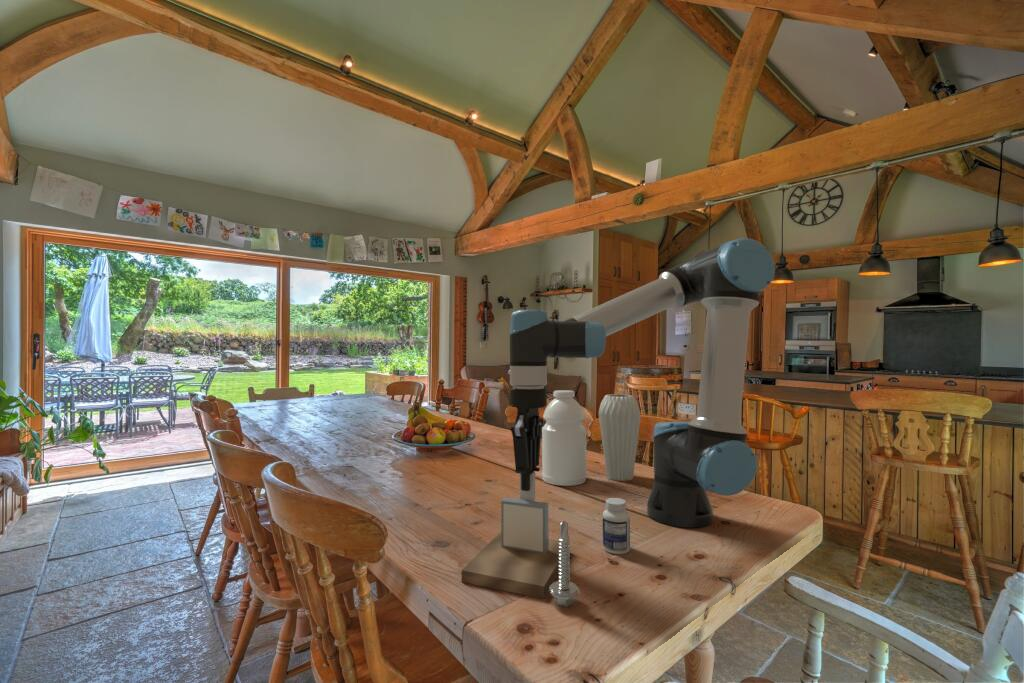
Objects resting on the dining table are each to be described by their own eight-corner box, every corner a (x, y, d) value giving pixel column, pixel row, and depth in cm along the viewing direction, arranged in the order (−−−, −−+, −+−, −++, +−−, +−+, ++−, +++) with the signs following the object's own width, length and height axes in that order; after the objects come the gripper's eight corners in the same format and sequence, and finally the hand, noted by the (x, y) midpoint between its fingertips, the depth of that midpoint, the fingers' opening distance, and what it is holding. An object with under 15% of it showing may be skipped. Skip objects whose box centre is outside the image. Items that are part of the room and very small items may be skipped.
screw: (585, 604, 71) (563, 614, 68) (564, 591, 75) (542, 600, 72) (585, 521, 71) (563, 528, 68) (564, 513, 75) (542, 519, 72)
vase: (591, 473, 147) (591, 394, 147) (626, 470, 151) (626, 393, 151) (612, 485, 134) (611, 398, 135) (649, 481, 138) (649, 396, 139)
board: (569, 552, 89) (569, 542, 89) (543, 598, 72) (543, 586, 72) (500, 541, 94) (500, 531, 94) (461, 581, 78) (461, 570, 78)
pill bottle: (610, 541, 95) (610, 494, 95) (634, 548, 91) (633, 500, 91) (598, 549, 90) (597, 501, 91) (622, 557, 87) (622, 507, 87)
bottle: (532, 479, 140) (532, 390, 141) (560, 471, 150) (560, 388, 150) (568, 489, 130) (567, 393, 130) (595, 480, 140) (595, 391, 140)
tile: (548, 550, 86) (548, 503, 86) (545, 554, 84) (545, 506, 84) (505, 542, 89) (505, 497, 89) (501, 547, 87) (501, 501, 87)
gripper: (521, 384, 97) (521, 493, 96) (498, 388, 85) (497, 513, 84) (555, 385, 94) (554, 497, 93) (535, 390, 82) (535, 519, 81)
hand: (527, 505), depth 89 cm, fingers closed
